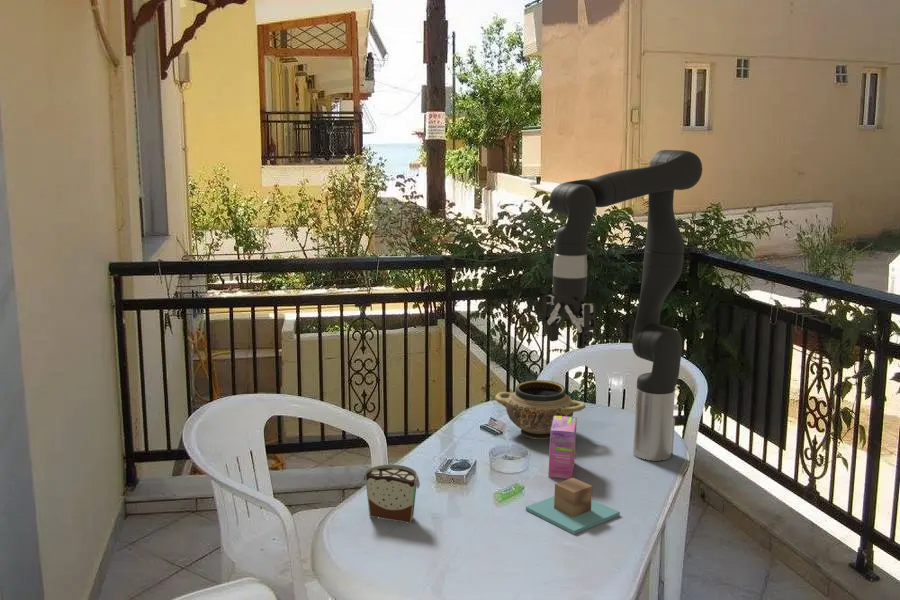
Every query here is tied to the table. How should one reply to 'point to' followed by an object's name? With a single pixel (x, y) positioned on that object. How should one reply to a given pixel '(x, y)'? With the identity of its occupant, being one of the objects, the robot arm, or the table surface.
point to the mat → (572, 524)
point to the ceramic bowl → (538, 406)
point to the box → (562, 447)
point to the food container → (391, 492)
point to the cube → (573, 497)
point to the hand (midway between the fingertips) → (567, 344)
